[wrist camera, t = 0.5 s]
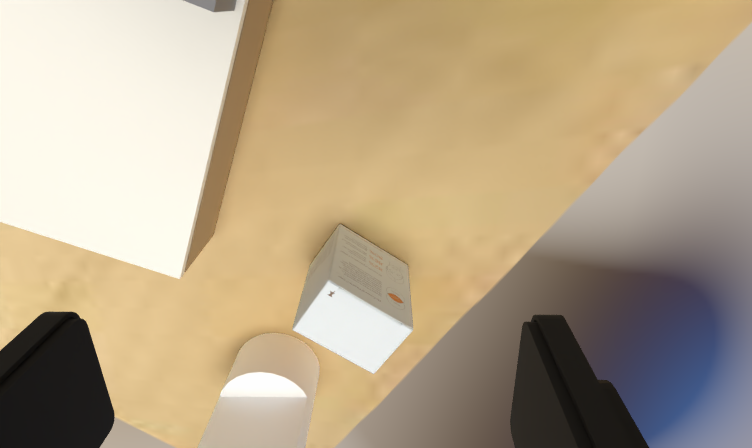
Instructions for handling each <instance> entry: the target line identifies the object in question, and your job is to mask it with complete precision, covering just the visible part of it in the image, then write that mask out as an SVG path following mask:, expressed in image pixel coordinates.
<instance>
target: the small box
mask: <svg viewBox="0 0 752 448" xmlns="http://www.w3.org/2000/svg"><path fill="white" fill-rule="evenodd" d="M293 331H295V332H297V333H299V334H301V335H303V336H304V337H306V338H308V339H310V340H312V341H314V342H316V343H317V344H319V345H321V346H323V347H325V348H327V349H328V350H330V351H332V352H334V353H336V354H338V355H340V356H341V357H343V358H345V359H347V360H349V361H351V362H352V363H354V364H356V365H358V366H360V367H362V368H363V369H365V370H367V371H369V372H371V373H372V374H374V373H375V372H376V371H377V370H378V369H379V368H380V367H381V366H382V364H383V363H384V362H385V361H386V360H387V359H388V358H389V357H390V355H391V354H392V353H393V352H394V351H395V350H396V349H397V348H398V347H399V345H400V344H401V343H402V342H403V341H404V340H405V339H406V338H407V336H408V335H409V334H410V333H411V332H412V331H413V320H412V306H411V295H410V283H409V271H408V265H407V264H405V263H404V262H402V261H400V260H399V259H397V258H395V257H394V256H392V255H390V254H389V253H387V252H386V251H384V250H382V249H381V248H379V247H377V246H376V245H374V244H372V243H371V242H369V241H368V240H366V239H364V238H363V237H361V236H359V235H358V234H356V233H354V232H353V231H351V230H350V229H348V228H346V227H345V226H343V225H342V224H339V225H338V227H337V228H336V230H335V231H334V232H333V234H332V235H331V236H330V238H329V239H328V241H327V242H326V243H325V245H324V246H323V248H322V249H321V250H320V252H319V253H318V255H317V256H316V257H315V259H314V260H313V262H312V263H311V264H310V266H309V270H308V274H307V277H306V281H305V284H304V288H303V291H302V295H301V299H300V302H299V306H298V309H297V313H296V317H295V320H294V324H293Z"/></svg>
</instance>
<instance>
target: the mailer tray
mask: <svg viewBox="0 0 752 448" xmlns="http://www.w3.org/2000/svg"><path fill="white" fill-rule="evenodd" d="M272 3H273V0H248V5H247V9H246V13H245V17H244V21H243V26H242V30H241V34H240V38H239V43H238V47H237V51H236V55H235V60H234V64H233V68H232V72H231V76H230V81H229V85H228V89H227V93H226V98H225V102H224V106H223V110H222V114H221V119H220V123H219V127H218V131H217V136H216V140H215V144H214V148H213V152H212V157H211V161H210V165H209V169H208V174H207V178H206V182H205V186H204V190H203V195H202V199H201V203H200V207H199V212H198V216H197V220H196V224H195V228H194V233H193V237H192V241H191V245H190V250H189V254H188V258H187V262H186V267H185V271H184V272H186V270H187V269H188V268H189V266H190V265H191V264H192V262H193V261H194V260H195V259H196V257H197V256H198V255H199V253H200V252H201V251H202V249H203V248H204V247H205V245H206V244H207V243H208V241H209V240H210V239H211V237H212V236H213V234H214V230H215V226H216V222H217V218H218V214H219V211H220V207H221V203H222V199H223V195H224V191H225V187H226V183H227V179H228V175H229V171H230V168H231V164H232V160H233V156H234V152H235V148H236V144H237V140H238V136H239V132H240V128H241V125H242V121H243V117H244V113H245V109H246V105H247V101H248V97H249V93H250V89H251V86H252V82H253V78H254V74H255V70H256V66H257V62H258V58H259V54H260V50H261V46H262V43H263V39H264V35H265V31H266V27H267V23H268V19H269V15H270V11H271V7H272Z"/></svg>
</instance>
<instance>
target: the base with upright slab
mask: <svg viewBox="0 0 752 448" xmlns="http://www.w3.org/2000/svg"><path fill="white" fill-rule="evenodd" d="M319 371H320V366H319V362H318V358H317V357H316V355H315V353H314V352H313V350H312V349H311V348H310V347H309V346H308V345H307V344H306V343H304V342H303V341H301V340H299V339H297V338H296V337H293V336H290V335H287V334H281V333H266V334H261V335H258V336H256V337H253V338H251V339H250V340H249V341H247V342H246V343H245V344H244V345H243V346H242V347H241V349H240V350H239V352H238V355H237V357H236V359H235V361H234V364H233V366H232V368H231V371H230V373H229V375H228V377H227V380H226V382H225V384H224V387H223V389H222V391H221V394H220V397H219V399H218V402H217V404H216V406H215V409H214V411H213V413H212V415H211V418H210V420H209V422H208V425H207V427H206V429H205V432H204V434H203V436H202V438H201V441H200V443H199V445H198V448H305V446H306V441H307V435H308V430H309V425H310V420H311V415H312V410H313V405H314V400H315V394H316V389H317V384H318V379H319Z"/></svg>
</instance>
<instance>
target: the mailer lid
mask: <svg viewBox="0 0 752 448" xmlns="http://www.w3.org/2000/svg"><path fill="white" fill-rule="evenodd" d="M247 5H248V0H0V222H2V223H5V224H9V225H12V226H15V227H18V228H21V229H24V230H27V231H31V232H34V233H37V234H40V235H43V236H46V237H49V238H53V239H56V240H59V241H62V242H65V243H68V244H71V245H74V246H78V247H81V248H84V249H87V250H90V251H93V252H96V253H100V254H103V255H106V256H109V257H112V258H115V259H118V260H122V261H125V262H128V263H131V264H134V265H137V266H140V267H144V268H147V269H150V270H153V271H156V272H159V273H162V274H166V275H169V276H172V277H175V278H178V279H180V278H181V277H182V276H183V274H184V271H185V267H186V262H187V258H188V254H189V250H190V245H191V241H192V237H193V233H194V228H195V224H196V220H197V216H198V212H199V207H200V203H201V199H202V195H203V190H204V186H205V182H206V178H207V174H208V169H209V165H210V161H211V157H212V152H213V148H214V144H215V140H216V136H217V131H218V127H219V123H220V119H221V114H222V110H223V106H224V102H225V98H226V93H227V89H228V85H229V81H230V76H231V72H232V68H233V64H234V60H235V55H236V51H237V47H238V43H239V38H240V34H241V30H242V26H243V21H244V17H245V13H246V9H247Z"/></svg>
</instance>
